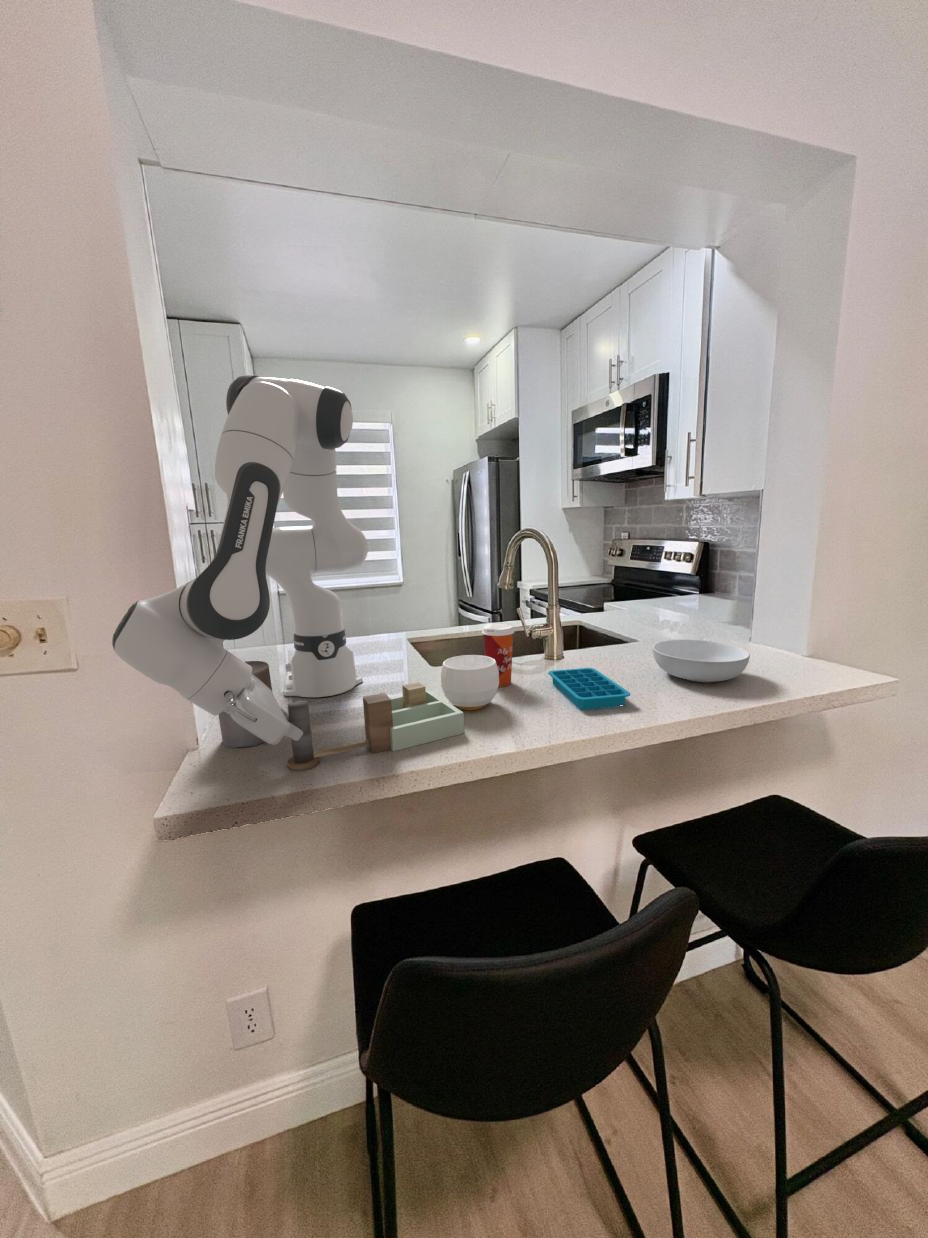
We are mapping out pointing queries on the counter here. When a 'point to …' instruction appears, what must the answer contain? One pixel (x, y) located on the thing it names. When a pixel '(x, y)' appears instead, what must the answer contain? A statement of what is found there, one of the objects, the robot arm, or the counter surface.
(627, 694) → the ice cube tray
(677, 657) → the serving bowl
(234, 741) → the pillar candle
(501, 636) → the paper cup
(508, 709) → the counter surface
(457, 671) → the white deep bowl
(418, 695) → the oak block
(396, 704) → the lane rack
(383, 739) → the tethered walnut block
